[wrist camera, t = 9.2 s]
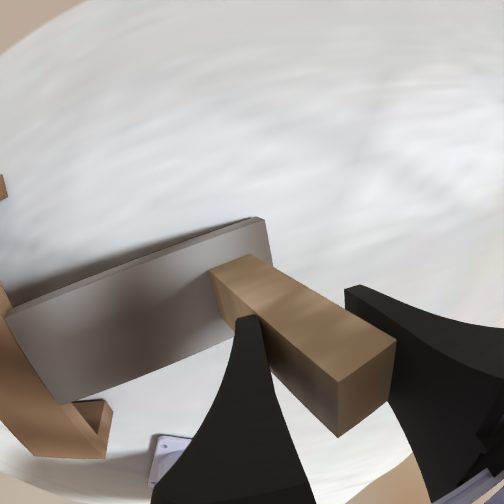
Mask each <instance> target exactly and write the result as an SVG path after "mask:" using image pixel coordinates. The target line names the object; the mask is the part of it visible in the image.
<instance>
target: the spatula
mask: <svg viewBox="0 0 504 504" xmlns="http://www.w3.org/2000/svg"><path fill="white" fill-rule="evenodd" d="M252 314H254V315H257V318H258V320H259V323H260V326H261V331H262V335H263V340H264V344H265V349H266V353H267V358H268V362H269V367H270V371H271V372H272V373H273V374H274V375H275V376H276V377H277V378H278V379H279V380H280V381H281V382H282V383H283V384H284V385H285V386H286V387H287V389H288V390H289V391H290V392H291V393H292V394H293V395H294V396H295V397H296V398H297V399H298V400H299V401H300V402H301V403H302V404H303V405H304V406H305V407H306V408H307V409H308V410H309V411H310V412H311V413H312V414H313V415H314V416H315V417H316V418H317V419H318V420H320V421H321V422H322V423H323V424H324V425H325V426H326V427H327V428H328V429H329V430H330V431H331V432H332V433H333V434H334V435H335V436H336V437H337V438H339V437H340V436H342V435H343V434H344V433H346V432H347V431H349V430H350V429H351V428H353V427H354V426H355V425H357V424H358V423H359V422H361V421H362V420H363V419H365V418H366V417H367V416H369V415H370V414H371V413H373V412H374V411H375V410H376V409H378V408H379V407H380V406H381V405H383V404H384V403H385V402H386V401H387V400H388V397H389V392H390V386H391V379H392V373H393V366H394V358H395V351H396V342H397V340H396V339H395V338H393V337H391V336H390V335H388V334H386V333H385V332H383V331H381V330H379V329H378V328H376V327H374V326H373V325H371V324H369V323H368V322H366V321H364V320H362V319H361V318H359V317H357V316H356V315H354V314H352V313H350V312H349V311H347V310H345V309H344V308H342V307H340V306H339V305H337V304H335V303H333V302H332V301H330V300H328V299H327V298H325V297H323V296H322V295H320V294H318V293H316V292H315V291H313V290H311V289H310V288H308V287H306V286H305V285H303V284H301V283H299V282H298V281H296V280H294V279H293V278H291V277H289V276H288V275H286V274H284V273H283V272H281V271H279V270H277V269H276V268H274V267H273V263H272V257H271V252H270V246H269V241H268V235H267V230H266V224H265V220H264V219H262V218H259V217H253V218H250V219H247V220H244V221H241V222H238V223H235V224H232V225H230V226H227V227H224V228H221V229H218V230H215V231H212V232H210V233H207V234H204V235H201V236H198V237H195V238H193V239H190V240H187V241H184V242H182V243H179V244H176V245H173V246H170V247H168V248H165V249H162V250H160V251H157V252H154V253H151V254H149V255H146V256H143V257H141V258H138V259H135V260H133V261H130V262H127V263H125V264H122V265H119V266H117V267H114V268H111V269H109V270H106V271H104V272H101V273H98V274H96V275H93V276H91V277H88V278H86V279H83V280H80V281H78V282H75V283H73V284H70V285H68V286H65V287H63V288H60V289H58V290H55V291H53V292H50V293H48V294H45V295H43V296H41V297H38V298H36V299H33V300H31V301H28V302H26V303H24V304H21V305H19V306H16V307H14V308H12V309H9V310H8V311H7V313H6V316H5V318H4V319H5V321H6V323H7V325H8V326H9V328H10V330H11V332H12V334H13V335H14V337H15V339H16V341H17V342H18V344H19V346H20V347H21V349H22V351H23V352H24V354H25V355H26V357H27V359H28V360H29V362H30V363H31V365H32V366H33V368H34V370H35V371H36V373H37V374H38V375H39V377H40V378H41V380H42V381H43V383H44V384H45V386H46V387H47V388H48V390H49V391H50V393H51V394H52V395H53V397H54V398H55V399H56V401H57V402H58V403H59V405H60V406H61V405H64V404H67V403H70V402H73V401H76V400H79V399H82V398H85V397H87V396H90V395H93V394H96V393H99V392H101V391H104V390H107V389H109V388H112V387H115V386H117V385H120V384H123V383H125V382H128V381H130V380H133V379H136V378H138V377H141V376H143V375H146V374H148V373H151V372H153V371H156V370H158V369H161V368H163V367H165V366H168V365H170V364H173V363H175V362H177V361H180V360H182V359H184V358H187V357H189V356H191V355H194V354H196V353H198V352H201V351H203V350H205V349H207V348H210V347H212V346H214V345H216V344H219V343H221V342H223V341H225V340H227V339H230V338H232V337H234V334H235V321H236V320H237V318H240V317H244V316H248V315H252Z"/></svg>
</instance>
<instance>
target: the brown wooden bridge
mask: <svg viewBox="0 0 504 504" xmlns="http://www.w3.org/2000/svg"><path fill="white" fill-rule="evenodd" d="M6 197H8V194H7V191H6V187H5V183H4V179H3V175H2V174H1V175H0V200H2V199H4V198H6ZM12 308H13V307H12V305H11V303H10V301H9V299H8V297H7V295H6V293H5V291H4V288H3V286H2V284H1V282H0V420H1V421H2V423H3V424H4V425H5V426H6V427H7V428H8V429H9V430H10V432H11V433H12V434H13V435H14V436H15V437H16V438H17V439H18V440H19V441H20V442H21V443H22V444H23V445H24V446H25V447H26V448H27V449H28V450H29V451H30V452H31V453H32V454H33V455H34V456H40V457H53V458H72V459H105V457H106V450H107V444H108V438H109V432H110V427H111V421H112V416H113V411H112V409H111V408H110V406H109V405H108V404H107V402H106V401H105V400H103V401H93V402H81V403H71V402H70V403H67V404H64V405H61V406H60V405H59V403H58V402H57V401H56V399H55V398H54V397H53V395H52V394H51V393H50V391H49V390H48V388H47V387H46V386H45V384H44V383H43V381H42V380H41V378H40V377H39V375H38V374H37V373H36V371H35V370H34V368H33V366H32V365H31V363H30V362H29V360H28V359H27V357H26V355H25V354H24V352H23V351H22V349H21V347H20V346H19V344H18V342H17V341H16V339H15V337H14V335H13V334H12V332H11V330H10V328H9V326H8V325H7V323H6V321H5V319H4V318H5V316H6V313H7V311H8V310H9V309H12Z"/></svg>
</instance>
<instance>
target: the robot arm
mask: <svg viewBox="0 0 504 504" xmlns="http://www.w3.org/2000/svg"><path fill="white" fill-rule="evenodd" d="M344 295H345V310H347V311H349V312H350V313H352V314H354V315H356V316H357V317H359V318H361V319H362V320H364V321H366V322H368V323H369V324H371V325H373V326H374V327H376V328H378V329H379V330H381V331H383V332H385V333H386V334H388V335H390V336H391V337H393V338H395V339H396V340H397V342H396V351H395V358H394V366H393V373H392V379H391V386H390V392H389V397H388V400H387V401H388V403H389V405H390V406H391V408H392V410H393V411H394V413H395V415H396V417H397V419H398V421H399V423H400V425H401V427H402V429H403V431H404V433H405V435H406V438H407V440H408V442H409V444H410V446H411V449H412V451H413V453H414V456H415V458H416V461H417V463H418V466H419V468H420V470H421V473H422V476H423V479H424V482H425V485H426V488H427V491H428V494H429V498H430V501H431V503H432V504H471V503H473V502H474V501H476V500H477V499H478V498H480V497H481V496H482V495H484V494H485V493H486V492H488V491H489V490H490V489H492V488H493V487H494V486H496V485H497V484H498V483H499V482H501V481H502V480H503V479H504V328H495V327H486V326H480V325H474V324H469V323H464V322H460V321H456V320H452V319H448V318H445V317H441V316H438V315H435V314H432V313H429V312H426V311H423V310H421V309H418V308H415V307H413V306H410V305H408V304H405V303H403V302H401V301H398V300H396V299H394V298H391V297H389V296H387V295H384V294H382V293H380V292H378V291H375V290H373V289H371V288H368V287H366V286H363V285H357V286H353V287H350V288H347V289H344ZM148 487H149V488H151V489H153V493H152V498H151V504H316V501H315V498H314V496H313V493H312V490H311V487H310V484H309V481H308V479H307V477H306V474H305V472H304V469H303V467H302V464H301V462H300V459H299V457H298V454H297V452H296V449H295V446H294V444H293V441H292V439H291V436H290V433H289V430H288V428H287V425H286V422H285V420H284V417H283V414H282V411H281V408H280V406H279V403H278V400H277V397H276V394H275V390H274V385H273V380H272V376H271V371H270V367H269V362H268V358H267V353H266V349H265V344H264V340H263V335H262V331H261V326H260V323H259V320H258V318H257V315H254V314H252V315H248V316H244V317H240V318H237V320H236V321H235V334H234V340H233V346H232V350H231V354H230V358H229V362H228V365H227V368H226V371H225V374H224V377H223V380H222V383H221V386H220V388H219V391H218V393H217V395H216V397H215V400H214V402H213V404H212V406H211V408H210V410H209V412H208V414H207V415H206V417H205V419H204V421H203V423H202V425H201V426H200V428H199V430H198V431H197V433H196V434H195V436H194V437H193V439H192V440H191V439H184V438H177V437H171V436H160V437H159V438H158V441H157V445H156V449H155V454H154V458H153V462H152V466H151V471H150V475H149V479H148ZM484 504H504V486H503V487H502V488H501V489H500V490H499V491H498V492H497V493H496V494H495V495H493V496H492V497H491V498H490V499H489V500H488V501H486V502H485V503H484Z"/></svg>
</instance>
